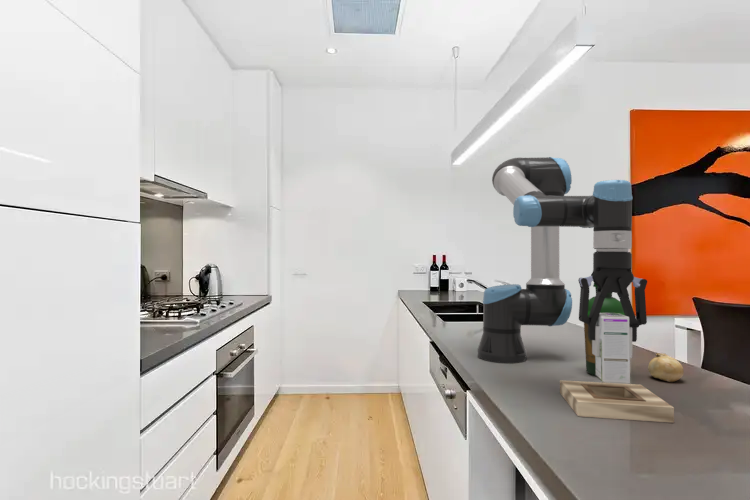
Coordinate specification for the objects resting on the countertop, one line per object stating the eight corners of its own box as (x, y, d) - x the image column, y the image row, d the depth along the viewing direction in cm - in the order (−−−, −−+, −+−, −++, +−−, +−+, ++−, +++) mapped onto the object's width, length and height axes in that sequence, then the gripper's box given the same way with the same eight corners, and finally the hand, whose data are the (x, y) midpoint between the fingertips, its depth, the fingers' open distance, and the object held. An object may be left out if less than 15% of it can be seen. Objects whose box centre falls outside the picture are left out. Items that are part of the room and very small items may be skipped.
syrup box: (631, 384, 96) (631, 316, 96) (601, 382, 97) (601, 315, 97) (621, 377, 101) (622, 312, 101) (593, 375, 102) (594, 311, 102)
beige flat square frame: (559, 392, 108) (559, 379, 108) (640, 397, 105) (640, 383, 105) (578, 416, 93) (578, 400, 93) (673, 422, 90) (673, 406, 90)
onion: (680, 378, 123) (680, 352, 123) (686, 385, 116) (686, 358, 116) (646, 374, 126) (646, 349, 126) (650, 381, 119) (650, 354, 119)
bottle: (584, 377, 122) (585, 274, 122) (580, 368, 132) (581, 273, 132) (629, 381, 119) (629, 275, 119) (621, 371, 129) (621, 274, 129)
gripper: (571, 250, 97) (570, 357, 97) (666, 250, 94) (666, 361, 94) (563, 250, 105) (562, 350, 104) (651, 251, 101) (651, 353, 101)
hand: (611, 355), depth 99 cm, fingers closed on syrup box, 6 cm apart
